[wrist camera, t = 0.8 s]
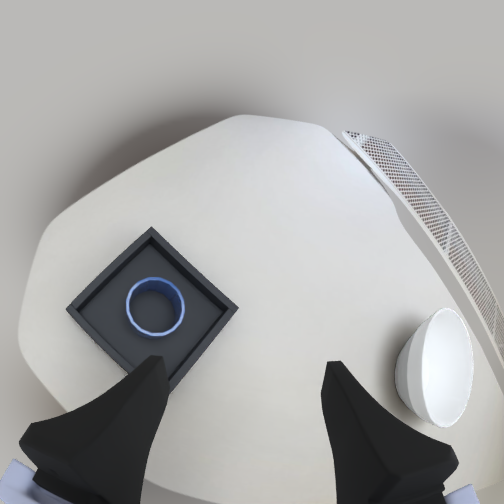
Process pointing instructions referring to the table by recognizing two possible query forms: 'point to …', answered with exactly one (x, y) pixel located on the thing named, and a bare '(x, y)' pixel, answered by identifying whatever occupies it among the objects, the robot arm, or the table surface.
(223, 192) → the table surface
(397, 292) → the table surface
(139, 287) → the small cup
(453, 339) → the bowl
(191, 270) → the tray
